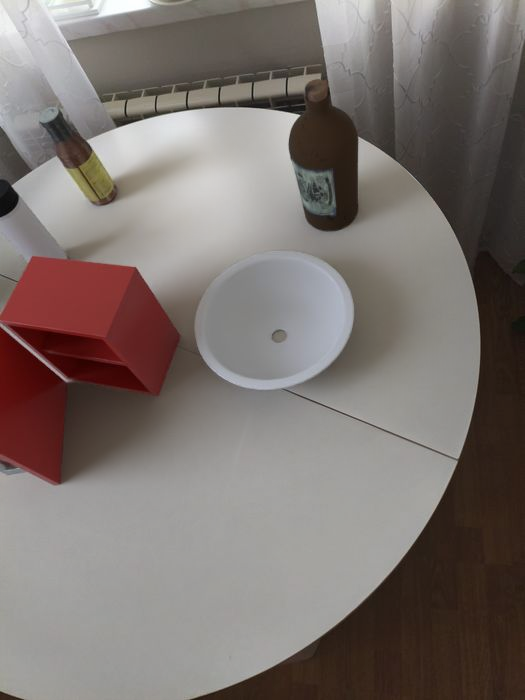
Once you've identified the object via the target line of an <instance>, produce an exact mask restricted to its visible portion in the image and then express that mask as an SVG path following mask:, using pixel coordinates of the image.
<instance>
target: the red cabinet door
mask: <svg viewBox="0 0 525 700" xmlns="http://www.w3.org/2000/svg"><path fill="white" fill-rule="evenodd" d="M67 393H68V382H67V381H66V380H64V379H63V378H62V377H61V376H60V375H59V374H57V373H56V372H55V371H54V370H52V368H51V367H49V366H48V365H46V364H45V363H44V362H43V361H42V360H41V359H39V358H38V357H37V355H35V354H34V353H33V352H31V350H29V349H28V348H26V347H25V346H24V345H23V344H22V343H21V342H19V341H18V340H17V339H16V338H14V337H13V336H12V335H11V334H10V333H8V332H7V331H6V329H4V328H3V327H1V326H0V473H1V474H4V475H6V476H13V475H18V474H24V473H28V474H30V475H32V476H34V477H37V478H38V479H40V480H42V481H45V482H46V483H48V484H50V485H52V486H58V485H59V486H60V485H61V475H62V462H63V461H62V460H63V448H64V446H63V445H64V435H65V434H64V433H65V422H66V421H65V419H66V405H67Z"/></svg>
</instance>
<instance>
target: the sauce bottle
mask: <svg viewBox="0 0 525 700" xmlns="http://www.w3.org/2000/svg"><path fill="white" fill-rule="evenodd" d="M37 120H38V122H39V124H40V125H41V127H42V128H44V129H45V130H46V132H47V133H48V134H49V136H50V138H51V140H52V149H53V151H54V154H55V156H56V157H57V158H58V160H59V161H60V163H61V164H62V166H63V168H64V169H65V170H66V172H67V173H68V174H69V176H70V177H71V179H72V180H73V181H74V183H75V184H76V185H77V187H78V188H79V190H80V191H81V192H82V194H83V195H84V197H85V198H86V199H87V200H88V201H89V202H90V203H91V204H92V205H94V206H104V205H106V204H109V203H110V202H111V201H113V199H114V198H115V197H116V195H117V186H116V184H115V183H114V180H113V178H112V176H111V175H110V174H109V172H108V170H107V169H106V167H105V166H104V164H103V163H102V161H101V159H100V158H99V156H98V155H97V153H96V152H95V151H94V150H95V149H93V147H92V146H91V144H90V143H89V142H88V141H87V140H86V139H84V138H83V137H82V136H81V135H79V134H78V132H77V131H75V130H74V129H73V128H72V127H71V125H69V124H68V122H67V120H66V118H65V117H64V114H63V112H62V111H61V110H60V108H59V107H57V106H48V107H46V108H44V109H43V110H41V112H39V114H38V117H37Z"/></svg>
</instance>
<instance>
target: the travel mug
mask: <svg viewBox="0 0 525 700" xmlns="http://www.w3.org/2000/svg"><path fill="white" fill-rule="evenodd" d="M0 233H1V235H2V236H3V237H4V238H5V239H7V241H8V242H9V243H10V244H11V245H12V247H14V248H15V250H16V251H17V252H18V253H19V254H20V256H22V257H23V259H24V260H25V261H26V262H27V264H28V263H29V261H30V259H31V257H32V256H39V257H48V258H57V259H67V260H70V257H69V256H68V254H67V252H66V251H65V250H64V249H63V247H61V245H60V244H59V243H58V242H57V240H56V239H55V237H53V235H52V234H51V232H50V231H49V230H48V229H47V228H46V226H45V225H44V224H43V223H42V221H40V219H39V218H38V216H37V215H36V214H35V213H34V212H33V210H32V209H31V208H30V207H29V205H28V204H27V203H26V202H25V200H24V199H23V198H22V196H21V195H20V194H19V193H18V191H16V189H15V188H14V187H13V186H12V185H11V184H10V182H9V181H8V180H6V179H4V178H3V179H2V178H0Z"/></svg>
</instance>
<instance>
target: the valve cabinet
mask: <svg viewBox="0 0 525 700" xmlns="http://www.w3.org/2000/svg"><path fill="white" fill-rule="evenodd" d="M0 324H1V325H2V326H3V327H5V328H6V329H7V331H9V332H11V334H13V335H14V336H15V337H17V339H18V340H20V341H21V342H22V343H23V344H25V345H26V346H27V347H28V348H29V349H30V350H32V352H34V353H35V354H36V355H37V356H39V357H40V358H41V359H42V360H43V361H44V362H46V364H48V365H49V366H50V367H51V368H52V369H54V370H55V371H56V372H57V373H58V374H60V375H61V376H62V377H63V378H64V379H65V380H67V381H72V382H79V383H84V384H88V385H93V386H100V387H105V388H110V389H117V390H121V391H126V392H127V391H128V392H133V393H138V394H145V395H149V396H155V397H159V396H160V394H161V391H162V388H163V386H164V383H165V380H166V378H167V374H168V372H169V369H170V366H171V365H172V361H173V358H174V356H175V353H176V350H177V348H178V345H179V342H180V339H181V337H182V335H181V333H180V332H179V331H178V329H177V328H176V326H175V324H173V321H172V320H171V319H170V317H169V315H168V313H167V312H166V311H165V309H164V307H163V306H162V305H161V303H160V302H159V300H158V299H157V297H156V295H155V294H154V292H153V291H152V289H151V288H150V286H149V285H148V283H147V281H146V280H145V278H144V276H143V275H142V273H141V272H140V271H139V269H138V268H137V266H130V265H122V264H113V263H102V262H92V261H85V260H76V259H69V260H67V259H57V258H48V257H39V256H32V257H31V259H30V261H29V263H28V262H27V264H26V266H25V268H24V270H23V272H22V274H21V276H20V278H19V280H18V282H17V283H16V285H15V287H14V289H13V290H12V292H11V295H10V296H9V298H8V299H7V302H6V304H5V306H4V307H3V310H2V311H1V313H0Z"/></svg>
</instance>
